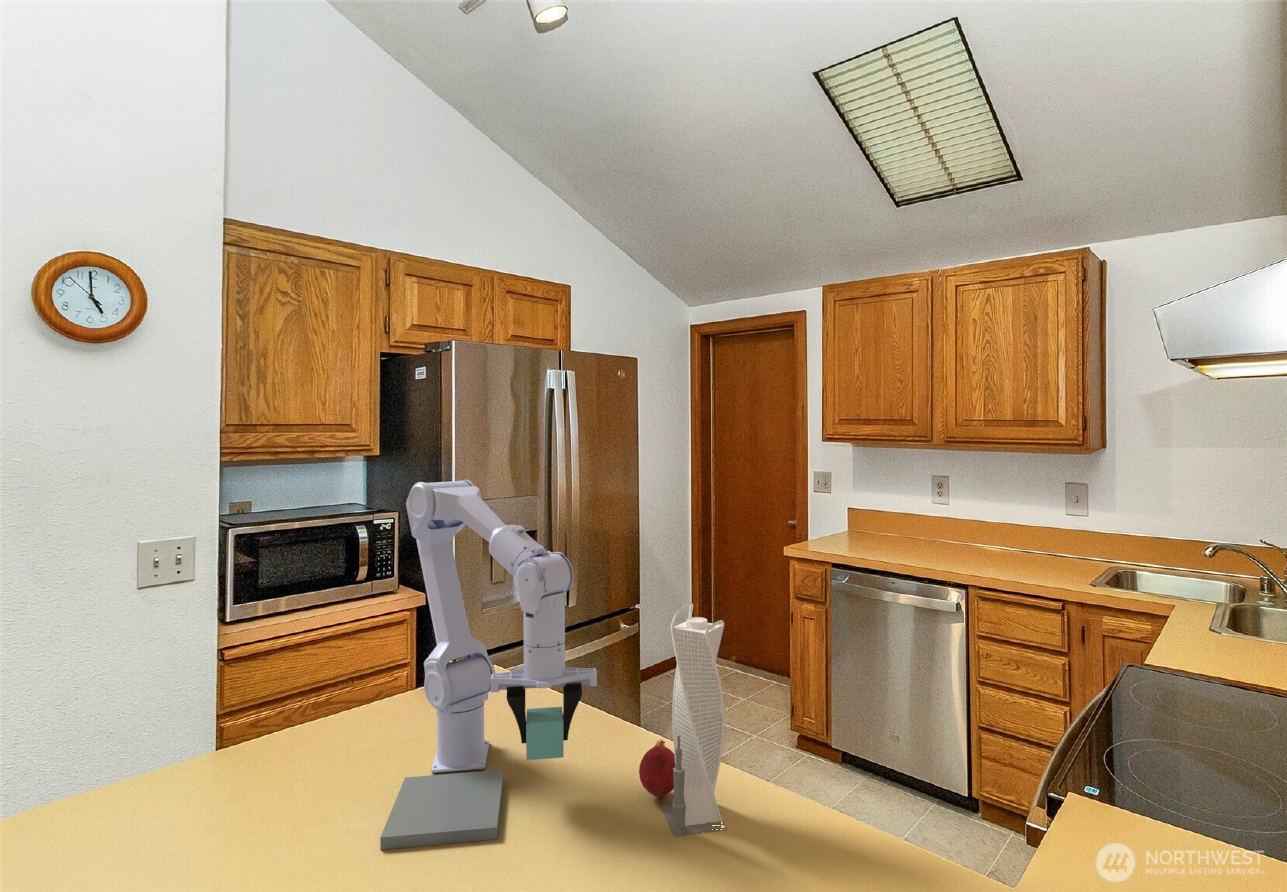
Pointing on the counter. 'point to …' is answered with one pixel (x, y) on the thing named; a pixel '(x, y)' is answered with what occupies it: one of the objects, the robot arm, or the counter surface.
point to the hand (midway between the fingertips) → (544, 738)
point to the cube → (544, 733)
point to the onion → (658, 770)
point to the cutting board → (445, 810)
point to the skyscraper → (696, 726)
